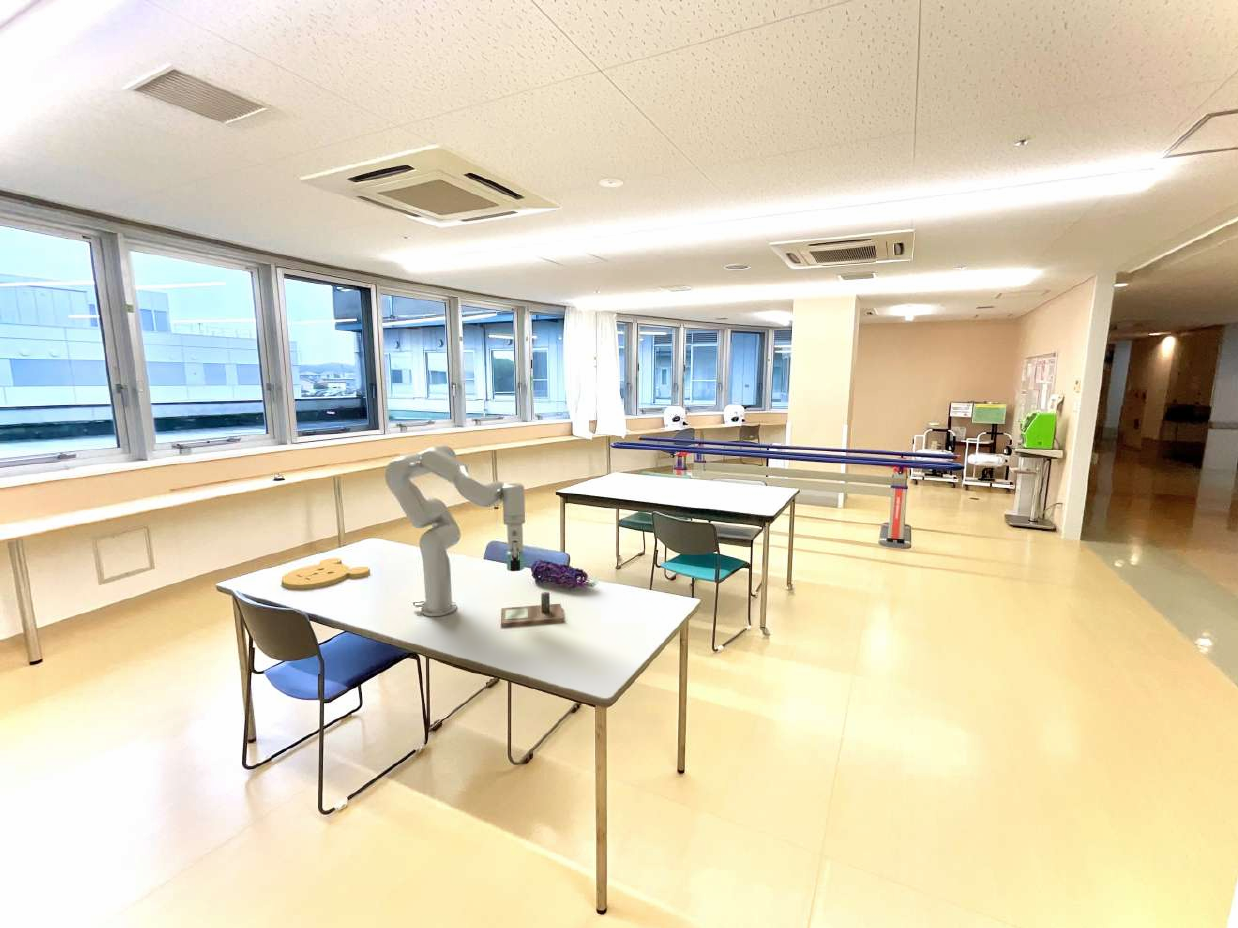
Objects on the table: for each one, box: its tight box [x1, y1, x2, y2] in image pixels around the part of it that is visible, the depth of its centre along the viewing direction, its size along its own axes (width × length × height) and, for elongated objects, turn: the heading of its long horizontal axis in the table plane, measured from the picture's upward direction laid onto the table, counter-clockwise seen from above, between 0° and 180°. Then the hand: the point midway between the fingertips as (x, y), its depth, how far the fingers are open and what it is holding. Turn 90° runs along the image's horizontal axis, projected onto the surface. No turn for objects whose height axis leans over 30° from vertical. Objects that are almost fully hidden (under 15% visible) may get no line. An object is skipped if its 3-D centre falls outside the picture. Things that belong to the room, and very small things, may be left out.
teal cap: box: [506, 550, 525, 572], centre depth 191 cm, size 6×6×6 cm
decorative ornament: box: [530, 558, 599, 591], centre depth 225 cm, size 13×11×30 cm
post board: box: [500, 591, 565, 628], centre depth 195 cm, size 22×13×8 cm, turn 101°
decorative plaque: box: [281, 557, 371, 591], centre depth 235 cm, size 31×3×30 cm
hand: (515, 567), depth 192 cm, fingers closed on teal cap, 6 cm apart
